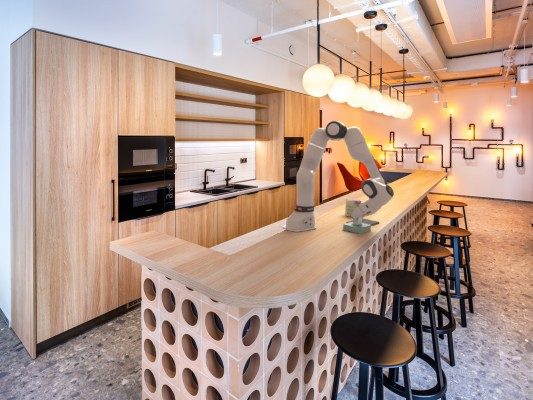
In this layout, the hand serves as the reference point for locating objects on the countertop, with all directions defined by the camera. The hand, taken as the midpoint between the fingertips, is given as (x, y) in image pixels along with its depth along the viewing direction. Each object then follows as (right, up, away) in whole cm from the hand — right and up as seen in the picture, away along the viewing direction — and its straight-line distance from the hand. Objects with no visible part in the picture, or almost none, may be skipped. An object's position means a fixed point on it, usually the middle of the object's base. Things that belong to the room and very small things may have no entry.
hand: (356, 219), depth 206 cm
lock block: (0, -7, +1) cm, 7 cm away
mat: (+9, -4, +17) cm, 19 cm away
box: (+8, 0, +39) cm, 40 cm away
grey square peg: (0, -7, +1) cm, 7 cm away
